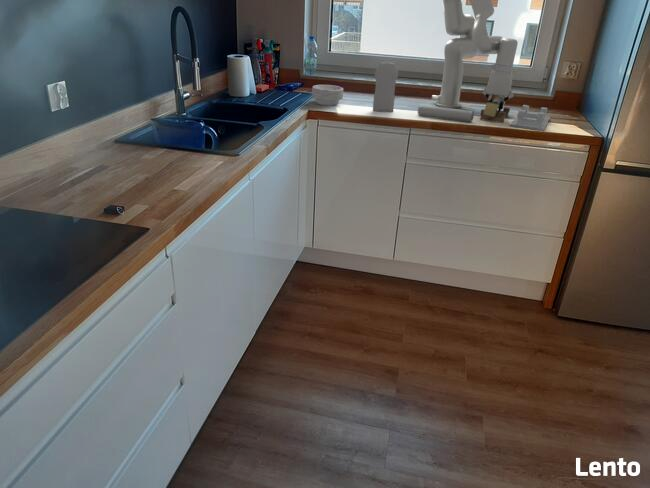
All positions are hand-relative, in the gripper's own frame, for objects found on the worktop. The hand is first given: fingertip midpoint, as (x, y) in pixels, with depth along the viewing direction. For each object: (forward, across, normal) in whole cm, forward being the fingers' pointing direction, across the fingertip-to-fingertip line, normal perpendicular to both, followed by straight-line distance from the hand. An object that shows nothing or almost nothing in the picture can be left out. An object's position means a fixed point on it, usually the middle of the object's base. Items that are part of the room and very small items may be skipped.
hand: (494, 109), depth 234 cm
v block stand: (+3, +17, 0) cm, 17 cm away
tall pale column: (+5, -47, -19) cm, 51 cm away
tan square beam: (0, 0, 0) cm, 1 cm away
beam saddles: (+4, +1, 0) cm, 4 cm away
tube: (+4, -19, -16) cm, 25 cm away
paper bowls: (+5, -76, -20) cm, 79 cm away
